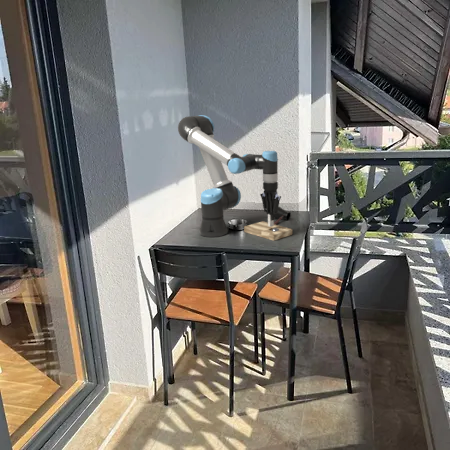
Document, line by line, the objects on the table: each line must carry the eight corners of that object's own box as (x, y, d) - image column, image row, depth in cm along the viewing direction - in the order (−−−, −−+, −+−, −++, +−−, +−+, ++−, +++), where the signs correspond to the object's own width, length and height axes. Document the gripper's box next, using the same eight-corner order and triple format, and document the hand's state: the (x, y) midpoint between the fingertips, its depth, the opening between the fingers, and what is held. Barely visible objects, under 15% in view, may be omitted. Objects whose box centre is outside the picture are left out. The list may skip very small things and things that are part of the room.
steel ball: (275, 236, 227) (275, 229, 226) (270, 235, 230) (269, 228, 229) (281, 235, 229) (280, 227, 228) (275, 233, 232) (275, 226, 231)
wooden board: (273, 240, 221) (273, 235, 220) (244, 231, 237) (244, 226, 236) (292, 234, 229) (292, 229, 229) (262, 226, 246) (262, 221, 245)
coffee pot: (279, 215, 265) (291, 219, 260) (262, 226, 252) (275, 231, 248) (279, 204, 262) (292, 208, 257) (263, 215, 249) (275, 219, 244)
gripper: (284, 181, 221) (284, 226, 228) (266, 179, 231) (267, 222, 238) (274, 184, 217) (274, 229, 223) (256, 181, 227) (257, 225, 233)
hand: (270, 225), depth 230 cm, fingers closed
